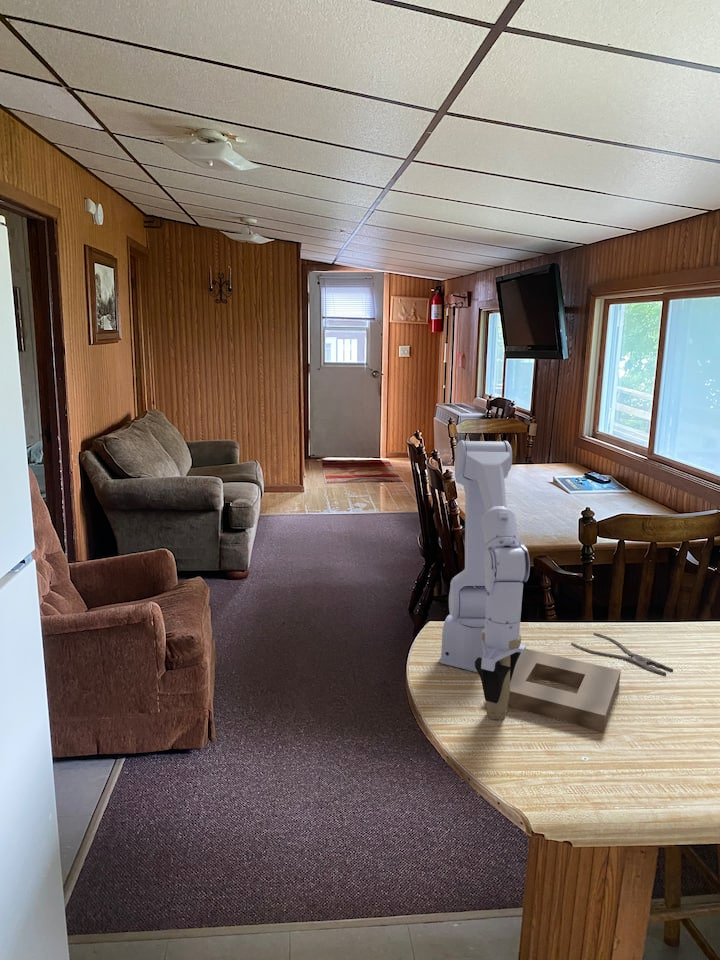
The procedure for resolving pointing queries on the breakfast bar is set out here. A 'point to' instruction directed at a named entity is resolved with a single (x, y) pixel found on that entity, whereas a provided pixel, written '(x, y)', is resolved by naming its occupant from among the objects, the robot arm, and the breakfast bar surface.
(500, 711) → the handle
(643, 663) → the pliers
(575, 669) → the socket plate
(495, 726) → the breakfast bar surface
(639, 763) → the breakfast bar surface
